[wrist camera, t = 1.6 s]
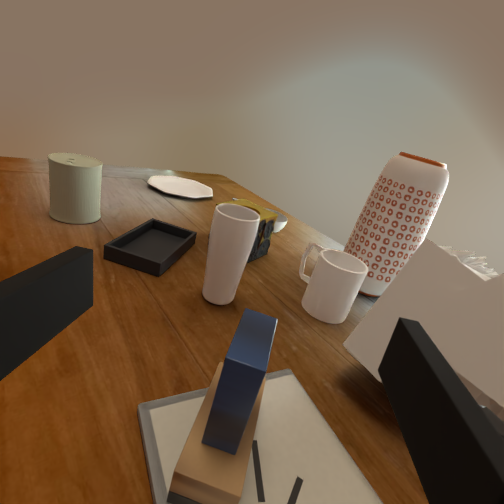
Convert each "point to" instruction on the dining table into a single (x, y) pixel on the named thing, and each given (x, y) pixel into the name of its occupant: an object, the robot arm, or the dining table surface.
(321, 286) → the cup
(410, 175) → the patterned vase
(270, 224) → the candle
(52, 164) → the can
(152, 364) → the dining table surface
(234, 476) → the blue block with base
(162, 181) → the plate
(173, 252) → the tray
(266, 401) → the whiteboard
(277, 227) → the small pan
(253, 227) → the drinking glass
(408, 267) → the tissue box
